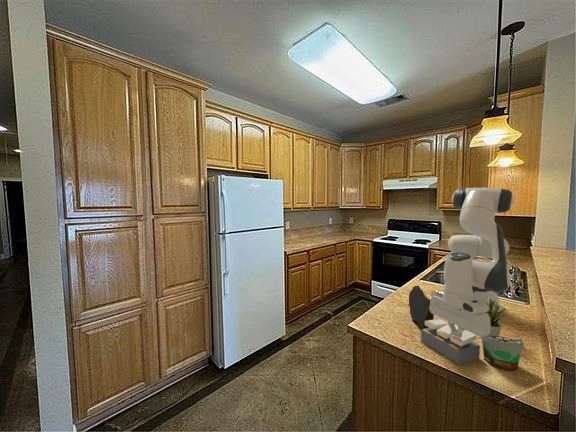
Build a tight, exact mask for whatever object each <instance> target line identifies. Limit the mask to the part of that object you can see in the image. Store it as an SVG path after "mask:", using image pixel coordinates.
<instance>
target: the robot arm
mask: <svg viewBox="0 0 576 432" xmlns="http://www.w3.org/2000/svg"><path fill="white" fill-rule="evenodd" d="M451 203H452V207H454V208H455V209H457V210H460V214H459V225H460V226H461V228H462V229H463V230H464V231H466V233H469V234H457V235H452V236H450V238H449V239H448V241H447V246H448V249H449V251H450V253H448V254H447V255H446V256H445V257H446V258H445V261H444V267H443V279H444V285H443V287H442V292H441V291H438V290H432V291H431V298H430V299H431V301H430V308H429V310H430V312H431V313H432V314H434V316H437V317H439V319H440V318H441V320H444V321H447V323H448V325H449V327H450V329H451V334H452V335H454V336H456V337H458V338H461V337H462V332H463V331H464V330H466V331H468V332H470V333H473V334H475V335H476V336H477V337H479V338H480V337H485V336H487V335H489V334H490V331H491V324H490V317H489V315H488V314H487V313H486V312H487V311H489V306H488V305H489V300H490V297H491V299H492V301H494V300H495V303H494V306H493V311H494V308H495V304H496V301H497V306H498V304H499V309H498V311H497V314H498V313H499V312H502V311H504V310H505V309H506V306H504V305H503V304H501V303H500V297H499V295H498V294H497V293H500V292H504V291H506V290H507V289H509V287H510V285H511V274H510V270H509V268H508V259H507V254H508V253H509V252H510V245H509V242H508V241H507V240H506V238H505V236H504V230H503V228H502V225H500V224H498V223H497V222H496V221H495V220H496V219H495V218H496V217H495V216H496V213H498V214H500V213H506V212H509V211H510V209H511V208H512V207H513V205H514V203H515V197H514V195H513V192H512V191H511V190H510V189H508V188H507V189H506V188H494V187H484V186H483V187H459V188H456V189H455V191H454V192H453V194H452V196H451ZM475 257H483V258H492V260H491V261H482V260H476V258H475ZM486 303H488V305H487V304H486ZM454 324H455V325H457V326H458V329H459V330H456V328H455V325H454Z"/></svg>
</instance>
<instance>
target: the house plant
mask: <svg viewBox="0 0 576 432" xmlns="http://www.w3.org/2000/svg"><path fill="white" fill-rule="evenodd" d="M494 303H495V300H494V301H492V299H491V297H490V300H489V305H488V303H486V304H487V305H488V306H489V311H487V312H486V313H487V314H488V315H489V317H490V324H491V331H490V334H489V335H488V336H500V333H501V330H502V327H503V326H502V324H501V321H500V320H501V317H509V318H510V316H509V315H504V314H503V315H501V314H502V313H503V312H505V311H507V310H506V309H507V308H505V309H504V310H501V311H500V312H498V313H497V311H498V309H499V304H500V303H499V304H498V306H497V301H496V304H495V308H494V311H493V306H494ZM502 323H503V324H505V323H506V322H505V321H502Z"/></svg>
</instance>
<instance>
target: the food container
mask: <svg viewBox="0 0 576 432" xmlns="http://www.w3.org/2000/svg"><path fill="white" fill-rule="evenodd" d="M479 338H480V339H481V341H482V353H483V360H484V362H486V363H487V364H489V365H490V366H492V367H494V368H495V369H499V370H502V371H505V372H506V371H507V372H515V371H518V368H519V364H520V358H521V354H522V353H521V352H522V351H523V350H524V349H525V343H524V340H523V339H522V338H520V339H514V338H508V337H506V336H505V337H504V336H500V335H499V336H488V335H487V336H485V337H480V336H479Z"/></svg>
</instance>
